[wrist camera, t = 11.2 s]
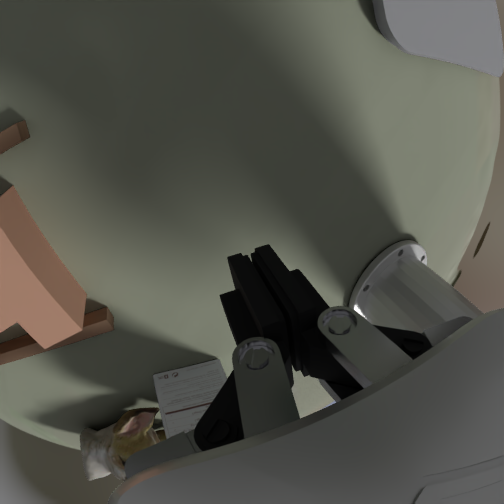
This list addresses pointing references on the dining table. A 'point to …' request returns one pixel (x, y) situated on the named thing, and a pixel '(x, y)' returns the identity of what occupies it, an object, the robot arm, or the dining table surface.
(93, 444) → the ceramic sculpture
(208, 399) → the supplement box
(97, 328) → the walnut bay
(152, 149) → the dining table surface
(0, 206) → the t block
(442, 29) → the tablet
